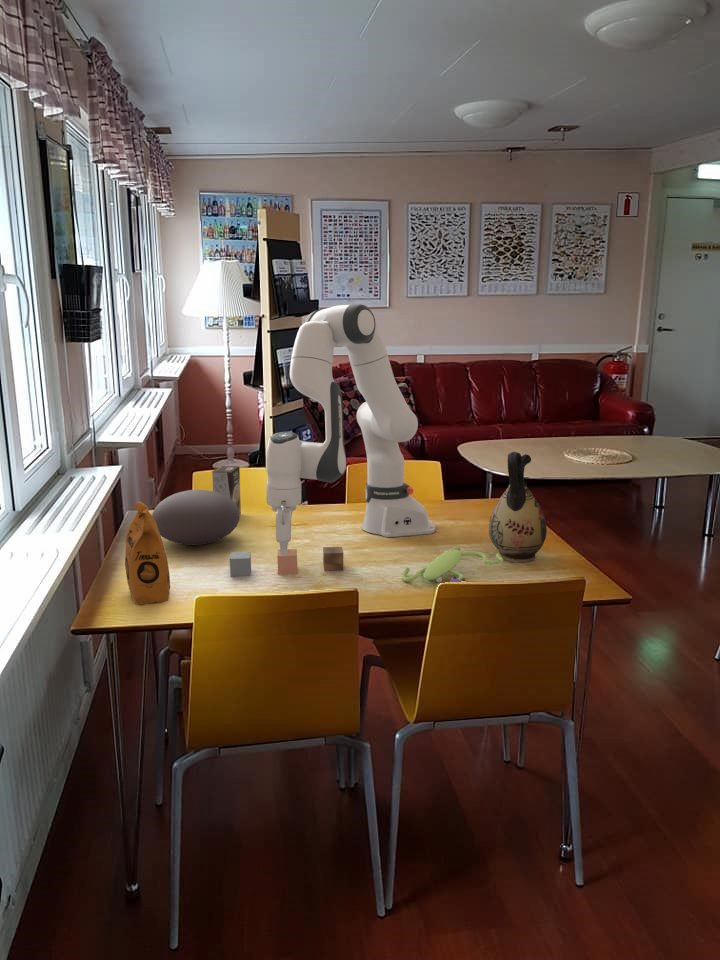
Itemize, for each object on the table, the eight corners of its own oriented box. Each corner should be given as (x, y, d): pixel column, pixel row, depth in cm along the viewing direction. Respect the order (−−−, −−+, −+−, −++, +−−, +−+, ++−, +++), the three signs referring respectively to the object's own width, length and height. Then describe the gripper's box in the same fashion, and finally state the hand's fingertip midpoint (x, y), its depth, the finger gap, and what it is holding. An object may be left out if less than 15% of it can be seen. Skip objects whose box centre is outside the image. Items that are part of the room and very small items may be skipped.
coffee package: (127, 607, 174) (120, 515, 169) (127, 588, 186) (120, 501, 181) (172, 602, 177) (166, 512, 172) (168, 583, 189) (163, 498, 183)
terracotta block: (297, 567, 201) (296, 549, 200) (297, 573, 196) (297, 555, 195) (278, 567, 200) (277, 549, 199) (277, 574, 196) (277, 556, 194)
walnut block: (342, 564, 203) (342, 546, 202) (343, 571, 198) (343, 552, 197) (323, 564, 202) (323, 547, 201) (324, 571, 198) (324, 553, 196)
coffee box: (233, 521, 240) (231, 472, 236) (213, 521, 241) (211, 471, 237) (241, 513, 249) (239, 465, 245) (222, 512, 250) (220, 465, 246)
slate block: (251, 569, 199) (250, 551, 198) (250, 576, 194) (249, 558, 193) (231, 570, 198) (231, 552, 197) (230, 577, 193) (229, 558, 192)
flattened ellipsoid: (241, 553, 211) (239, 501, 207) (148, 557, 207) (145, 505, 203) (240, 527, 235) (238, 480, 231) (157, 530, 231) (154, 483, 227)
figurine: (511, 572, 198) (512, 552, 197) (450, 600, 180) (451, 578, 179) (456, 556, 211) (456, 537, 209) (393, 580, 193) (393, 560, 191)
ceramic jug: (497, 545, 219) (502, 442, 211) (550, 553, 212) (557, 448, 205) (477, 563, 204) (482, 453, 197) (534, 572, 197) (541, 459, 190)
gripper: (296, 507, 184) (296, 561, 187) (296, 486, 204) (296, 536, 207) (270, 507, 183) (270, 561, 186) (272, 487, 203) (272, 536, 206)
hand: (284, 548), depth 197 cm, fingers open, 8 cm apart
